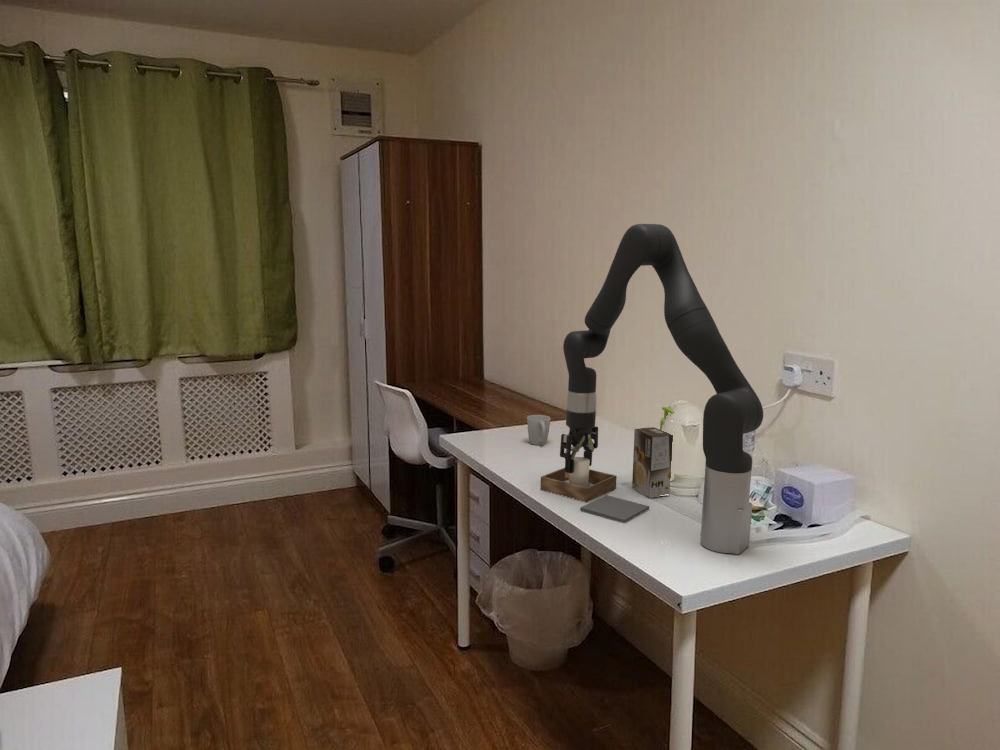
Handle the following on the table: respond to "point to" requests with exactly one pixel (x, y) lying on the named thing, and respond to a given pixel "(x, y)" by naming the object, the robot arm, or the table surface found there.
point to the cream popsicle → (579, 472)
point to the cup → (538, 429)
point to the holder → (600, 487)
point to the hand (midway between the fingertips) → (578, 469)
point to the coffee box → (652, 461)
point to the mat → (615, 508)
